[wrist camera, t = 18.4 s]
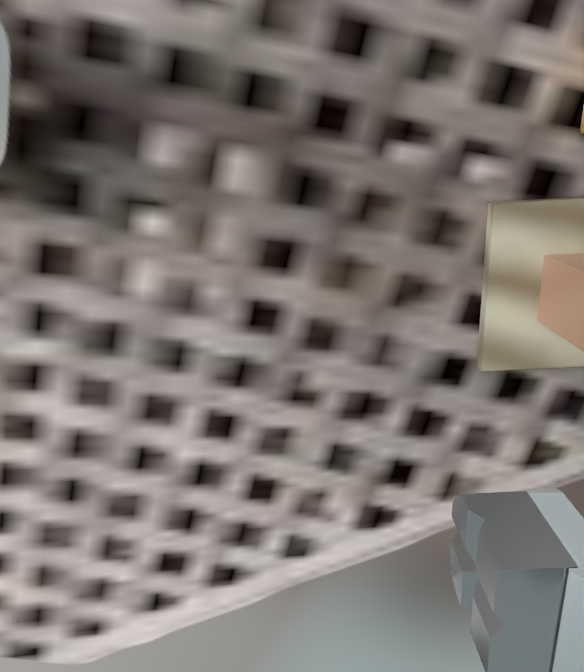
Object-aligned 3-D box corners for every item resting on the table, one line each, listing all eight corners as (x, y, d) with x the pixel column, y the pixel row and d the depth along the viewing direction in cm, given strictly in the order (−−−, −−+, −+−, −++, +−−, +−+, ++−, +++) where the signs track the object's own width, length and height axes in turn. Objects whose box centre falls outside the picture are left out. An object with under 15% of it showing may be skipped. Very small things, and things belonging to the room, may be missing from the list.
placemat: (488, 202, 40) (493, 203, 39) (668, 192, 40) (679, 193, 39) (476, 365, 45) (481, 371, 44) (637, 357, 45) (646, 363, 44)
